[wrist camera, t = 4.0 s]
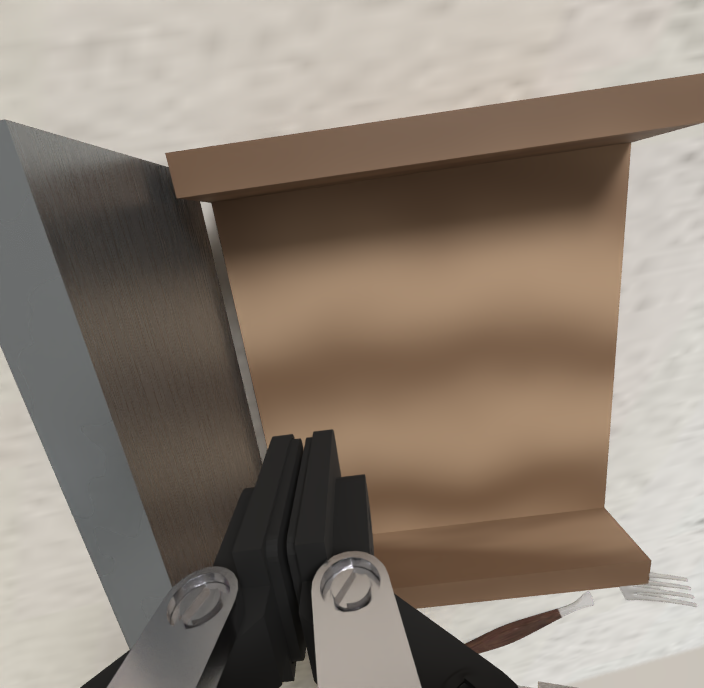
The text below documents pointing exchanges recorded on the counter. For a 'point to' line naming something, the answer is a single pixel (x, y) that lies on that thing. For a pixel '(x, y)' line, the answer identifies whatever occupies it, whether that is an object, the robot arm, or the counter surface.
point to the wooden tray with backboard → (449, 323)
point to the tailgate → (122, 360)
